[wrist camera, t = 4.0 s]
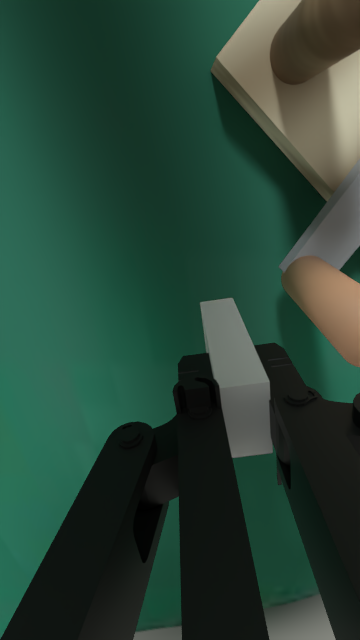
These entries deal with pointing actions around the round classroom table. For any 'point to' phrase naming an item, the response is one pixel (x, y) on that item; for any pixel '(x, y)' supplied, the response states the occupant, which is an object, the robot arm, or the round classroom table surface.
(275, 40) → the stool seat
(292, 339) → the round classroom table surface
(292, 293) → the crank handle
